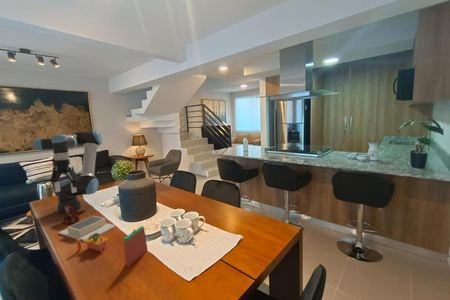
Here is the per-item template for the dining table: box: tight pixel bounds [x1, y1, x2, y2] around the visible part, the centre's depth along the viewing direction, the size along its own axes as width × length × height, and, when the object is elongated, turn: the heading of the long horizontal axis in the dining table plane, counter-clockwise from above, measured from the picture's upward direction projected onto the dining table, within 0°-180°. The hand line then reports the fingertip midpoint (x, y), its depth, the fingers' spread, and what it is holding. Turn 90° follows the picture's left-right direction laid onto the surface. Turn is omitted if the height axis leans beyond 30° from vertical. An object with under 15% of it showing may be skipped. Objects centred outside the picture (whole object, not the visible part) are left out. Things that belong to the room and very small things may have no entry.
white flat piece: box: [58, 215, 117, 242], centre depth 129 cm, size 18×26×5 cm
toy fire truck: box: [61, 206, 80, 225], centre depth 141 cm, size 7×12×10 cm, turn 56°
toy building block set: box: [76, 225, 148, 267], centre depth 106 cm, size 12×35×14 cm, turn 71°
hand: (66, 192), depth 136 cm, fingers open, 13 cm apart
